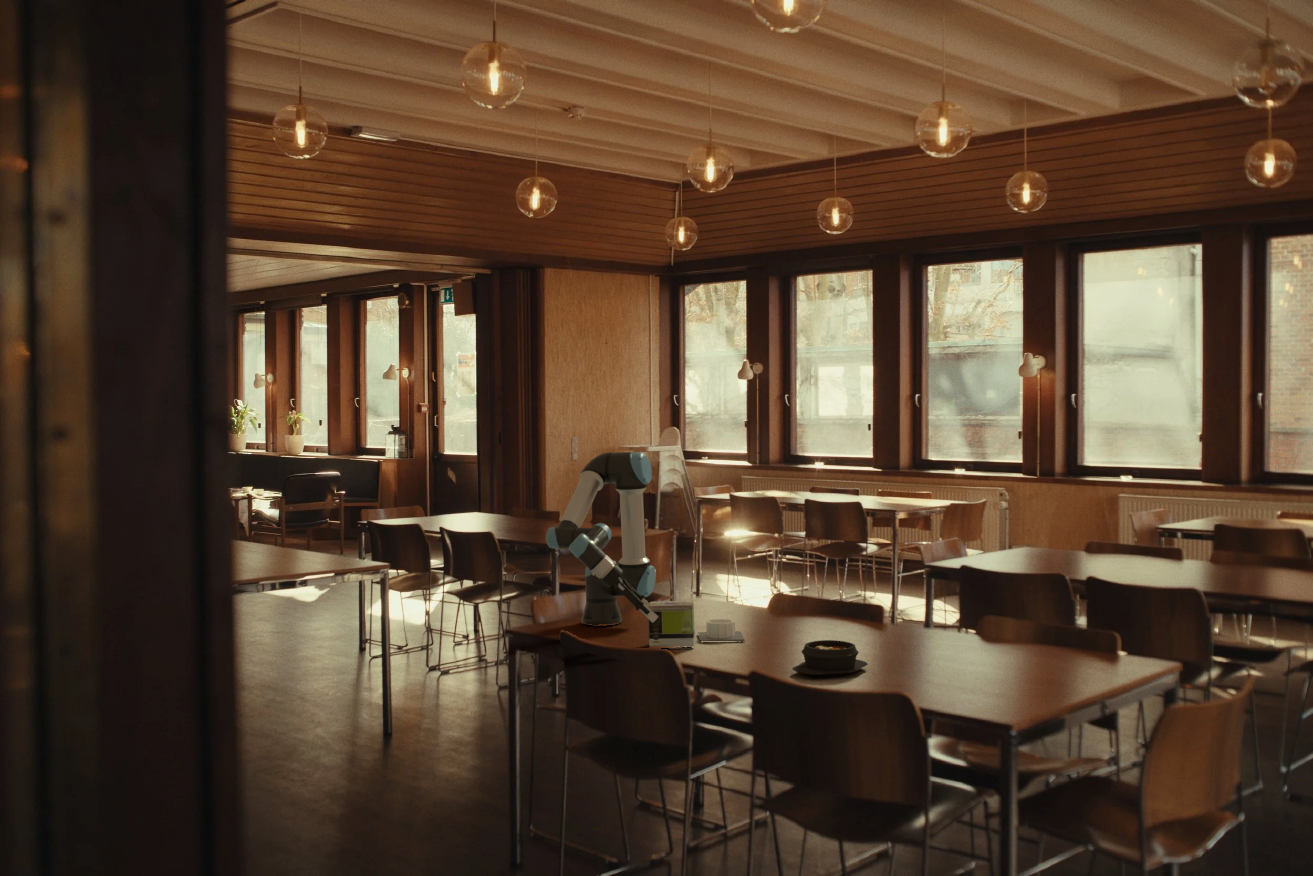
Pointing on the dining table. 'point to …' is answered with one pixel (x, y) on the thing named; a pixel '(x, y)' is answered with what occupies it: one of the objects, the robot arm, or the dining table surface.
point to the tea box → (672, 624)
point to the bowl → (720, 631)
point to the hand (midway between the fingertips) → (655, 617)
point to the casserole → (829, 658)
